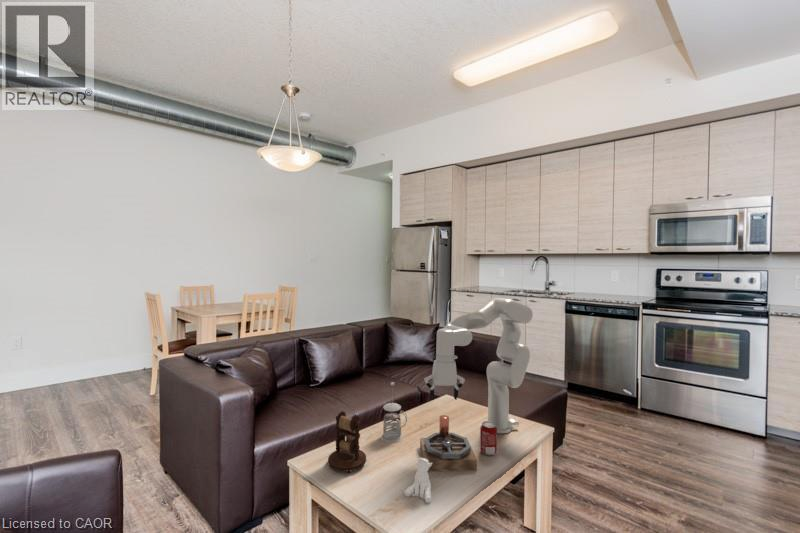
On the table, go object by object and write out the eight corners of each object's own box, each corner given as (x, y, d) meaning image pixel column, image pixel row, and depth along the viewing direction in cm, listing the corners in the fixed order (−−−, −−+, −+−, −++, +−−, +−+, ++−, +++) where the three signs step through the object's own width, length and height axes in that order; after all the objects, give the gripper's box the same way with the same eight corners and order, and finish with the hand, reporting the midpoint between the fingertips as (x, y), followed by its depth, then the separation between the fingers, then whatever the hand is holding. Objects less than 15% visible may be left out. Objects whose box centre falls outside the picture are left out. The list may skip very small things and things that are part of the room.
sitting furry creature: (403, 496, 129) (403, 462, 129) (412, 482, 137) (413, 450, 136) (429, 504, 125) (430, 468, 125) (437, 489, 133) (438, 456, 133)
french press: (383, 431, 176) (384, 377, 176) (408, 433, 174) (409, 379, 173) (378, 441, 167) (379, 385, 166) (404, 444, 165) (405, 387, 164)
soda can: (496, 457, 154) (497, 428, 154) (479, 455, 156) (480, 426, 155) (496, 449, 161) (496, 421, 161) (479, 447, 162) (480, 419, 162)
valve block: (466, 446, 163) (466, 436, 163) (477, 470, 145) (477, 459, 145) (420, 447, 162) (420, 437, 162) (425, 471, 144) (425, 460, 144)
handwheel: (474, 459, 145) (474, 435, 145) (428, 459, 144) (428, 436, 144) (463, 435, 164) (463, 415, 164) (422, 436, 163) (423, 415, 163)
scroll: (373, 460, 151) (373, 411, 151) (350, 479, 138) (350, 425, 138) (344, 450, 159) (344, 403, 158) (320, 467, 146) (320, 416, 145)
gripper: (463, 356, 164) (462, 395, 165) (423, 355, 164) (422, 395, 164) (467, 360, 157) (466, 401, 157) (425, 360, 156) (424, 401, 156)
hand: (443, 398), depth 161 cm, fingers open, 9 cm apart
